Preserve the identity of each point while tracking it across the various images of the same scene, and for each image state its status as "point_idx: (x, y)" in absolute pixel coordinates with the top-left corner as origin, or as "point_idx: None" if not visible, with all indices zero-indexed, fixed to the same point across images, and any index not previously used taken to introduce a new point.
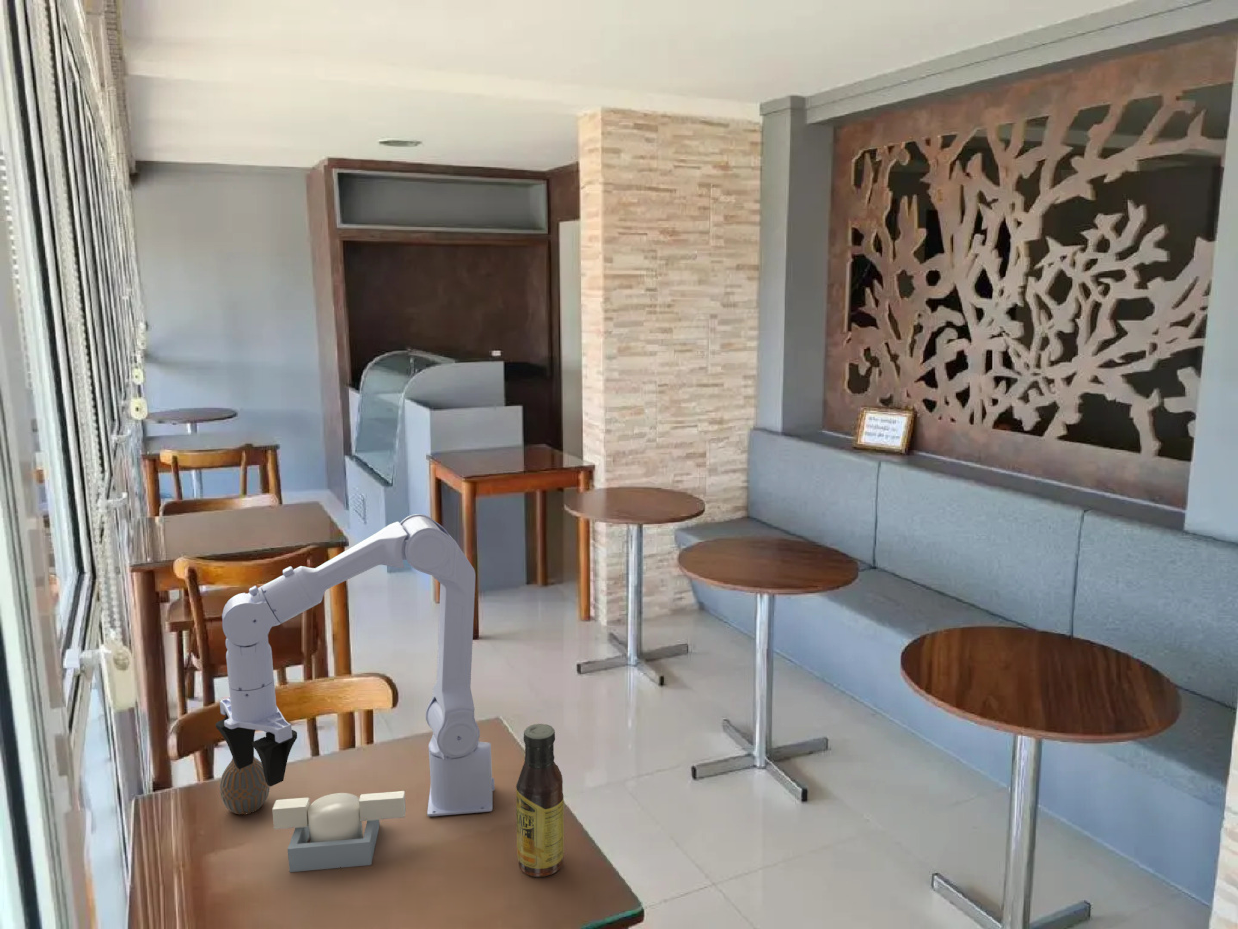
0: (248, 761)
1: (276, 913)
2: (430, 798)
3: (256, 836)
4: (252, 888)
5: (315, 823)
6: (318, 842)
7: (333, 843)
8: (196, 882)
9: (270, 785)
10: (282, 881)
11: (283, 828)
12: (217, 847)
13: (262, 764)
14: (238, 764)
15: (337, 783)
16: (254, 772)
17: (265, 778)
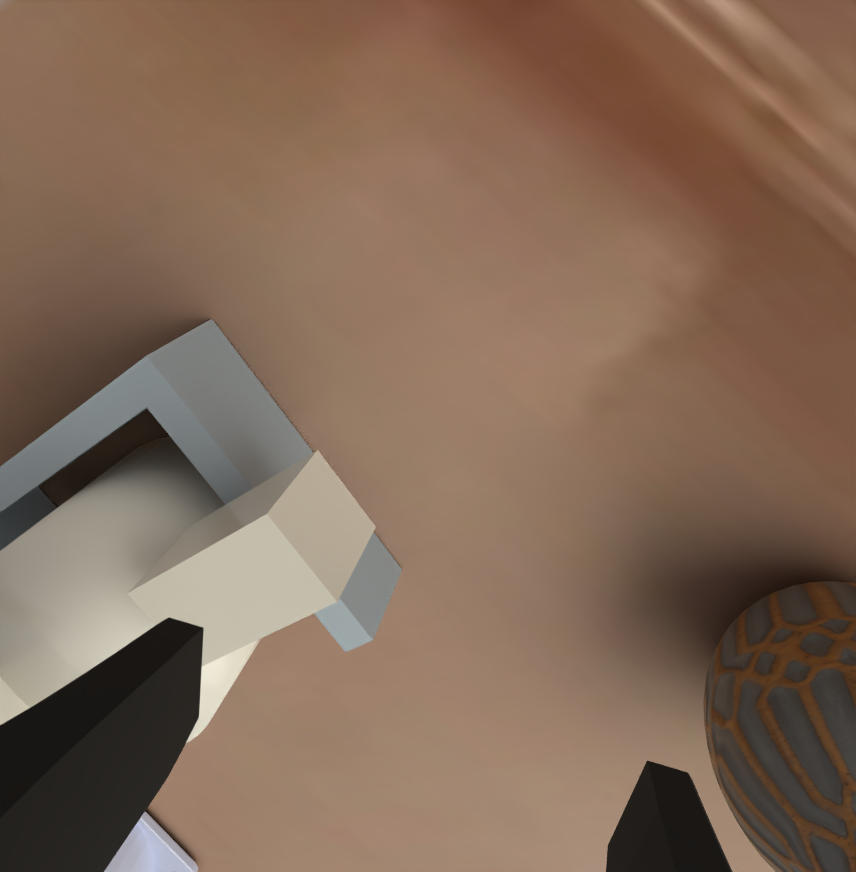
0: (619, 857)
1: (8, 56)
2: (139, 823)
3: (576, 475)
4: (254, 147)
5: (81, 526)
6: (78, 454)
7: (18, 470)
8: (562, 34)
9: (159, 625)
10: (184, 254)
11: (279, 473)
12: (704, 333)
13: (24, 775)
14: (652, 803)
15: (541, 850)
16: (770, 814)
17: (150, 662)
